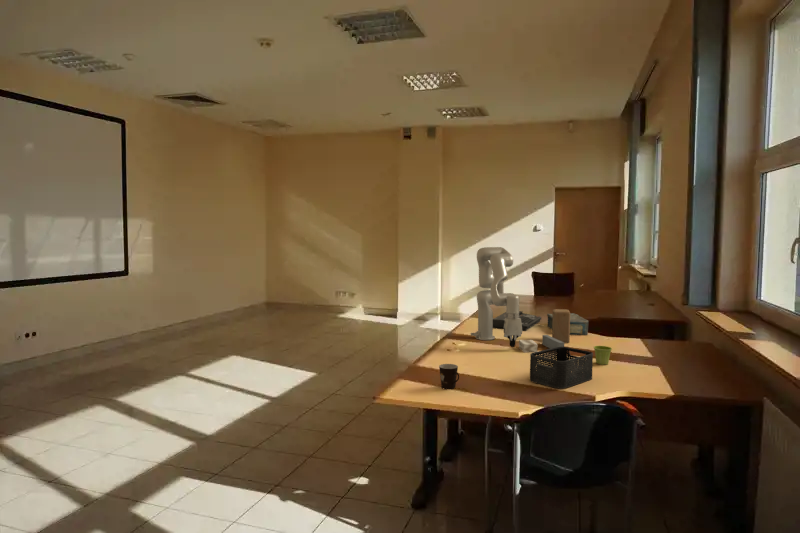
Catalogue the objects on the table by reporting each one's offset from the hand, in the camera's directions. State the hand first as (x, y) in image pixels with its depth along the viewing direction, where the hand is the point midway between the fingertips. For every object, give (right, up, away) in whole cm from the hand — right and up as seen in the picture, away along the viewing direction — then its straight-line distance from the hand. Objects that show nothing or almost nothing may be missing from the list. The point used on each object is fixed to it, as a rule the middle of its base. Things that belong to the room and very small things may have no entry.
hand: (512, 346), depth 321 cm
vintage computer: (+19, +4, +81) cm, 83 cm away
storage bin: (+12, -8, -58) cm, 60 cm away
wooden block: (+36, -1, +25) cm, 44 cm away
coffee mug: (-44, -9, -71) cm, 84 cm away
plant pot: (+42, -5, -29) cm, 52 cm away
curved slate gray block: (+25, -2, +5) cm, 26 cm away
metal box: (+50, +2, +58) cm, 77 cm away
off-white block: (+10, -3, +2) cm, 10 cm away
